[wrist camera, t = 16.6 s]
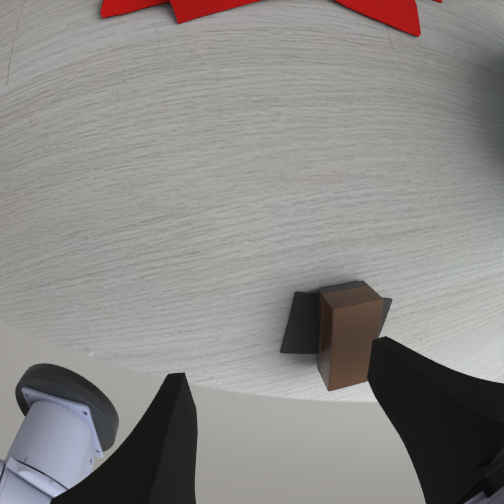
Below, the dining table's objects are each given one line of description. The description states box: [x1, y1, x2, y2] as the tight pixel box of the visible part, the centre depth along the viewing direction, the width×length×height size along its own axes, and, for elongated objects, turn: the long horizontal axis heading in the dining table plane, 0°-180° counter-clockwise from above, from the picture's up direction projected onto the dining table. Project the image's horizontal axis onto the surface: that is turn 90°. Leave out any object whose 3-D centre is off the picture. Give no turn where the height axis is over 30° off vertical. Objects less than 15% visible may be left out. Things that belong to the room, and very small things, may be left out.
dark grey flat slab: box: [281, 292, 393, 354], centre depth 21 cm, size 5×8×1 cm, turn 81°
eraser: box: [317, 281, 383, 391], centre depth 20 cm, size 7×4×3 cm, turn 6°
